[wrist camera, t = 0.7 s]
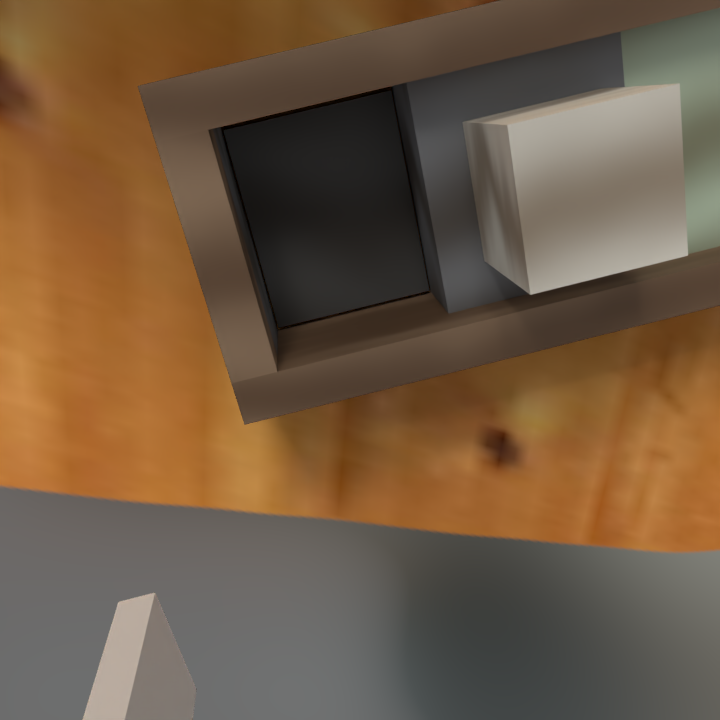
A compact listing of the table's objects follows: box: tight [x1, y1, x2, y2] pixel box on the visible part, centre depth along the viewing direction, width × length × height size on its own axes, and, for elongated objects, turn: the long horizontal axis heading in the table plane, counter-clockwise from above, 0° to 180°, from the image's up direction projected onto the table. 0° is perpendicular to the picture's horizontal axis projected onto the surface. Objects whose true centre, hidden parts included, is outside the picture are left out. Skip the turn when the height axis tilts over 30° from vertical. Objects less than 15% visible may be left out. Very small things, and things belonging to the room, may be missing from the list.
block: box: [462, 83, 688, 295], centre depth 27 cm, size 6×6×6 cm
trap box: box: [138, 0, 720, 424], centre depth 31 cm, size 14×38×6 cm, turn 103°
